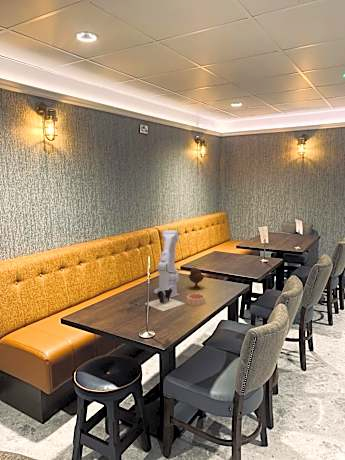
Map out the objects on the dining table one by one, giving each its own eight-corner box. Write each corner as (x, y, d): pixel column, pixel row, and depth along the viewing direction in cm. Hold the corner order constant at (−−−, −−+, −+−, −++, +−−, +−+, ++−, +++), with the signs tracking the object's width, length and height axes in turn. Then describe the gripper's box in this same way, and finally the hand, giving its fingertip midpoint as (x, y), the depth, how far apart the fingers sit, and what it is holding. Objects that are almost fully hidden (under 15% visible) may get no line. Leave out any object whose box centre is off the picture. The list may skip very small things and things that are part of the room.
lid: (148, 303, 229) (148, 298, 228) (165, 298, 238) (165, 292, 237) (163, 309, 218) (163, 303, 218) (180, 303, 228) (180, 297, 227)
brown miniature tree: (203, 291, 252) (203, 270, 250) (187, 290, 255) (187, 269, 252) (204, 286, 263) (204, 266, 260) (189, 285, 265) (189, 265, 263)
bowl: (183, 303, 229) (183, 296, 228) (195, 299, 236) (195, 292, 236) (196, 307, 221) (196, 300, 220) (208, 303, 228) (208, 296, 228)
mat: (144, 304, 229) (144, 303, 229) (165, 297, 241) (165, 296, 241) (163, 311, 216) (163, 311, 216) (184, 304, 228) (184, 303, 228)
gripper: (159, 284, 218) (159, 306, 220) (176, 279, 228) (177, 300, 230) (151, 282, 223) (152, 303, 225) (169, 277, 233) (169, 297, 235)
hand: (164, 301), depth 228 cm, fingers open, 4 cm apart
